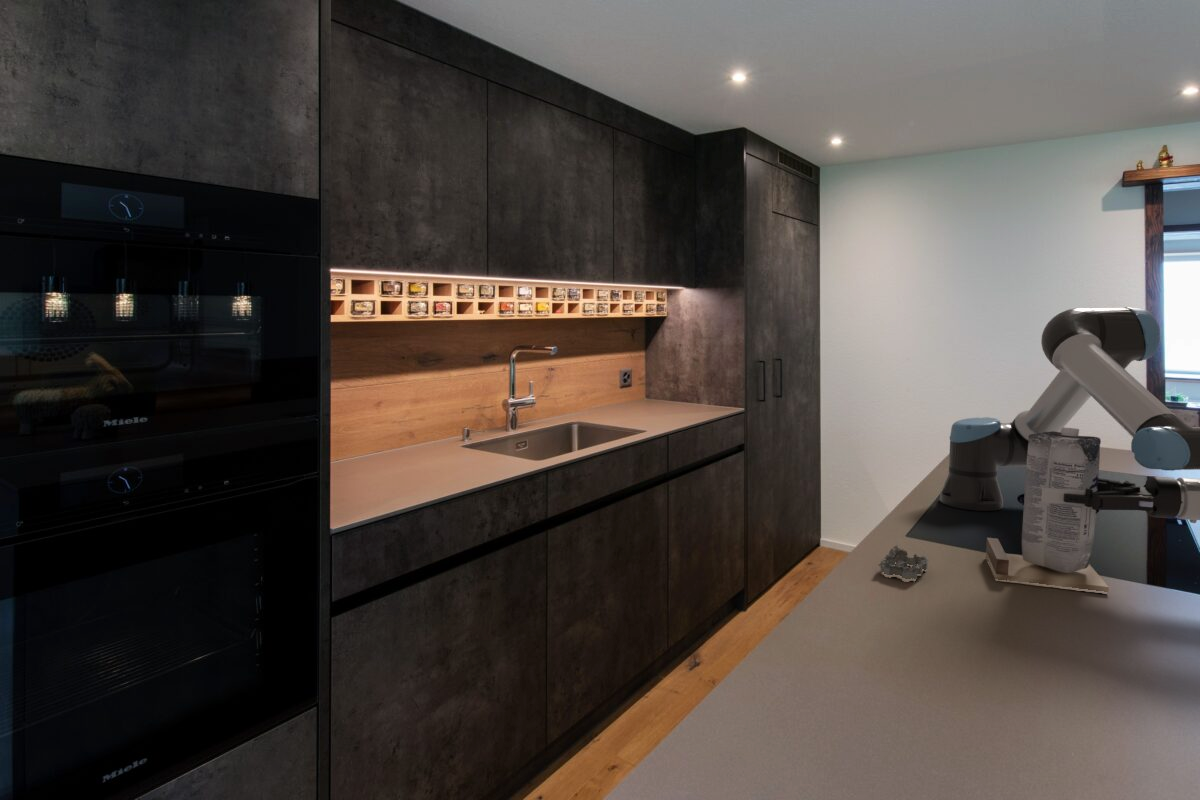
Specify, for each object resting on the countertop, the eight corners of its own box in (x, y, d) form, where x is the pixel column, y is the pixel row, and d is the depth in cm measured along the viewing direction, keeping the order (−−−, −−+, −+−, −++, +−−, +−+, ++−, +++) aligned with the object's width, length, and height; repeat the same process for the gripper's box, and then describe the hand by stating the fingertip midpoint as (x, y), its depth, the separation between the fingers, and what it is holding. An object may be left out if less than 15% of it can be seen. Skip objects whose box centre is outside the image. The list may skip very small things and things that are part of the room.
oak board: (995, 581, 133) (996, 573, 132) (985, 558, 145) (986, 551, 145) (1107, 594, 126) (1108, 587, 126) (1087, 569, 139) (1087, 562, 138)
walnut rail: (996, 573, 132) (997, 558, 132) (986, 551, 145) (986, 537, 145) (1007, 575, 132) (1008, 560, 131) (996, 552, 144) (997, 538, 144)
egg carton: (894, 563, 144) (895, 543, 143) (932, 571, 139) (933, 552, 138) (874, 576, 136) (875, 556, 136) (913, 586, 131) (914, 565, 131)
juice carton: (1070, 577, 128) (1081, 434, 125) (1014, 560, 137) (1023, 426, 134) (1096, 569, 132) (1107, 430, 129) (1040, 553, 141) (1049, 423, 138)
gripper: (1200, 536, 116) (1047, 522, 124) (1150, 502, 137) (1023, 492, 145) (1204, 493, 115) (1050, 482, 123) (1154, 465, 136) (1025, 457, 145)
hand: (1035, 487), depth 134 cm, fingers closed on juice carton, 11 cm apart
